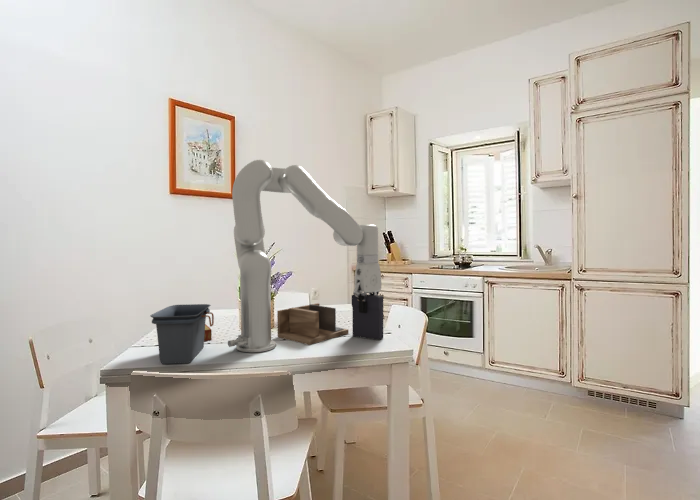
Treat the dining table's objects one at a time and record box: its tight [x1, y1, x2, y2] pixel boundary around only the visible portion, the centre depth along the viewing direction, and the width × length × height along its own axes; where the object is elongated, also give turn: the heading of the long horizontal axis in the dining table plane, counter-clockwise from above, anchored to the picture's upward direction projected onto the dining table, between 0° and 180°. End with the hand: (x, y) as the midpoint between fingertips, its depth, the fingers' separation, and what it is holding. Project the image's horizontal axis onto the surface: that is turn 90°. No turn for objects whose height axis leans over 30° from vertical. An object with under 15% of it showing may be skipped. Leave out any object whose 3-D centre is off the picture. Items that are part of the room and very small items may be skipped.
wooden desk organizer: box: [276, 302, 349, 346], centre depth 151 cm, size 20×16×10 cm
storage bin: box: [149, 303, 215, 365], centre depth 126 cm, size 21×16×14 cm
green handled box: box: [204, 323, 213, 342], centre depth 150 cm, size 8×16×4 cm, turn 30°
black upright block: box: [351, 294, 384, 341], centre depth 147 cm, size 11×4×15 cm, turn 58°
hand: (367, 311), depth 147 cm, fingers closed on black upright block, 4 cm apart
